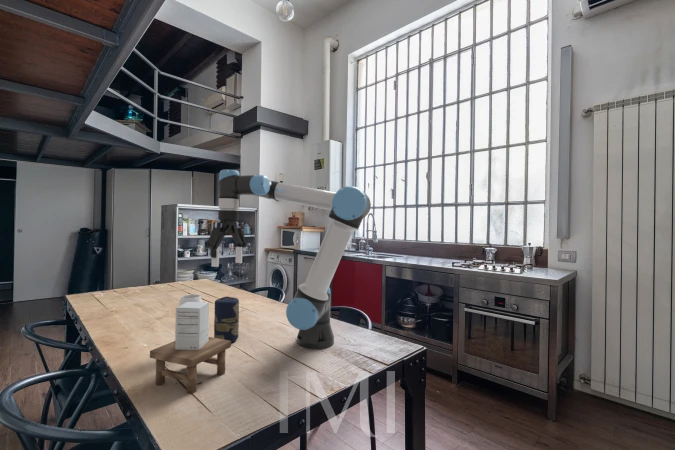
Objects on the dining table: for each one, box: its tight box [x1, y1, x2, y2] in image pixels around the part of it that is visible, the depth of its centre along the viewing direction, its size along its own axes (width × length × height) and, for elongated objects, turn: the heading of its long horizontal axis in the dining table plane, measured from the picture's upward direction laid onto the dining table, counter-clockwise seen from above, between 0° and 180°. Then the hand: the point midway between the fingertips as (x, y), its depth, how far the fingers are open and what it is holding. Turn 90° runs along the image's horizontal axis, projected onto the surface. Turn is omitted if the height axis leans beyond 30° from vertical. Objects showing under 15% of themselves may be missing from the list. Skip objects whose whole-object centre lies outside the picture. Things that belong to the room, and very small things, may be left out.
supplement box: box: [174, 301, 210, 350], centre depth 99 cm, size 7×7×13 cm
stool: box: [149, 336, 232, 394], centre depth 99 cm, size 16×16×10 cm
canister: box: [213, 296, 240, 343], centre depth 131 cm, size 10×10×18 cm
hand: (227, 264), depth 125 cm, fingers open, 13 cm apart
